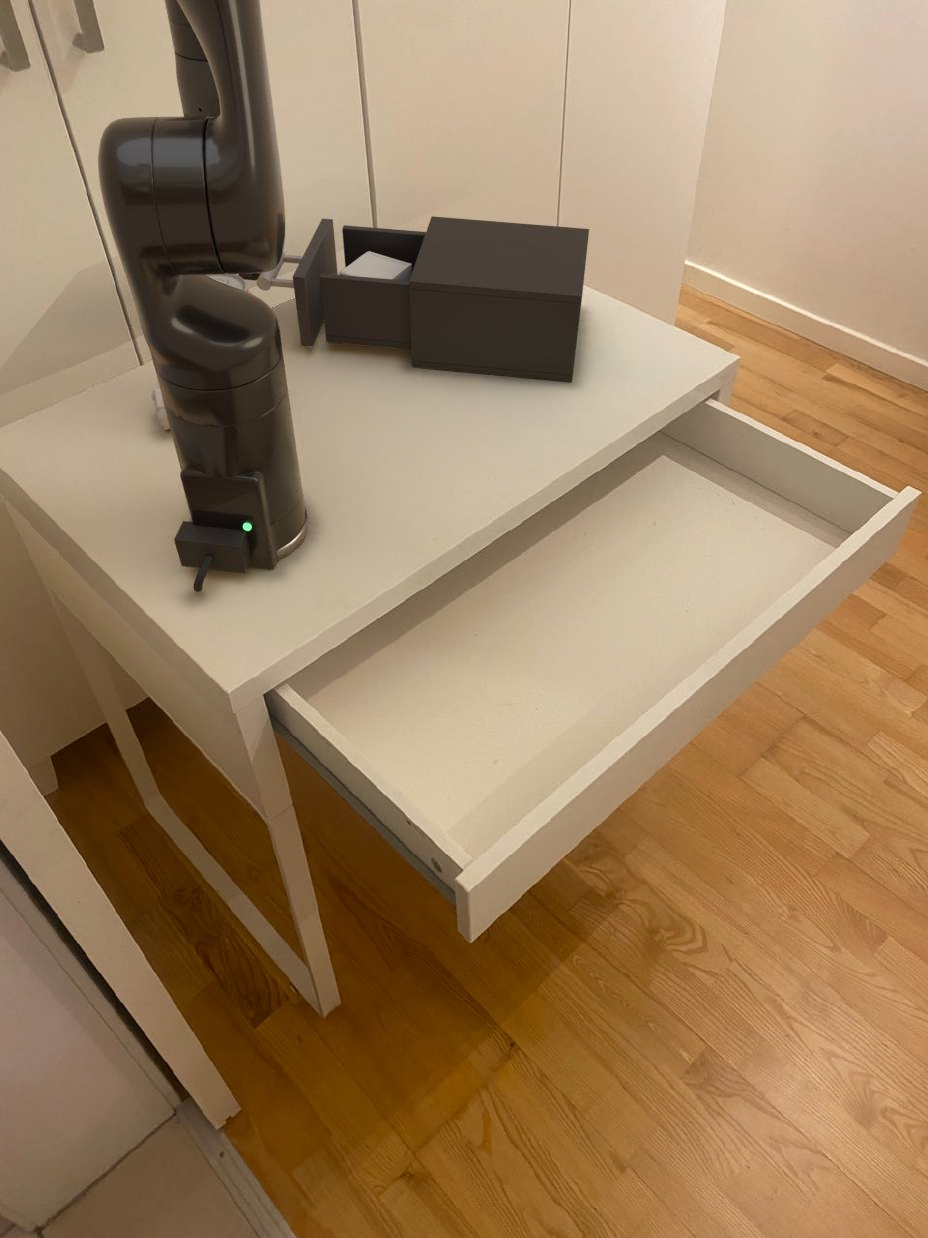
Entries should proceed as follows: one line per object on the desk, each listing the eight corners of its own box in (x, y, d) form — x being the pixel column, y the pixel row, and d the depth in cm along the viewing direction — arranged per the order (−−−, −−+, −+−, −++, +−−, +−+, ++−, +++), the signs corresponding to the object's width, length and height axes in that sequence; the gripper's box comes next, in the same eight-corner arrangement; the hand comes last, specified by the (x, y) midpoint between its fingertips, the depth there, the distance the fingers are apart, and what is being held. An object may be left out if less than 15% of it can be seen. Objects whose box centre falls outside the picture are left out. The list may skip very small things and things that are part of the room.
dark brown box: (411, 367, 99) (409, 280, 92) (432, 299, 108) (431, 215, 101) (571, 382, 98) (582, 295, 91) (579, 312, 107) (589, 228, 100)
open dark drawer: (254, 341, 100) (243, 272, 94) (285, 281, 108) (276, 214, 102) (448, 359, 98) (448, 289, 93) (464, 297, 107) (466, 229, 101)
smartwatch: (183, 435, 91) (174, 399, 88) (159, 438, 90) (150, 403, 87) (179, 413, 93) (171, 377, 90) (157, 416, 93) (147, 381, 90)
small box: (414, 305, 103) (413, 262, 100) (385, 329, 100) (383, 286, 96) (370, 290, 105) (367, 248, 101) (340, 314, 102) (336, 271, 98)
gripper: (205, 72, 93) (234, 243, 106) (159, 127, 84) (197, 306, 97) (281, 77, 92) (301, 249, 105) (242, 133, 84) (269, 312, 97)
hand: (251, 276), depth 101 cm, fingers closed
